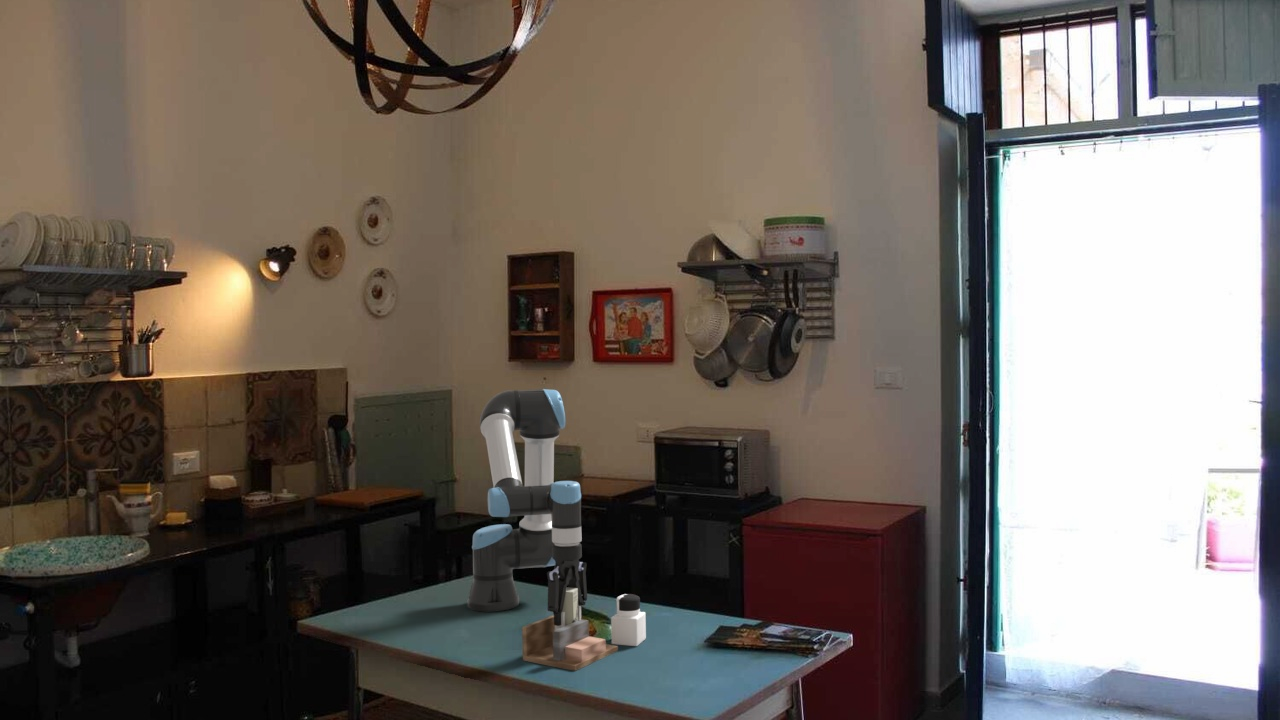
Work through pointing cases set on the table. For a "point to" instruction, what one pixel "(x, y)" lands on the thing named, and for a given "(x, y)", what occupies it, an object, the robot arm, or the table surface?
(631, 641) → the medicine bottle
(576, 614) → the box
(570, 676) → the table surface
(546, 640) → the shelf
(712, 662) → the table surface
